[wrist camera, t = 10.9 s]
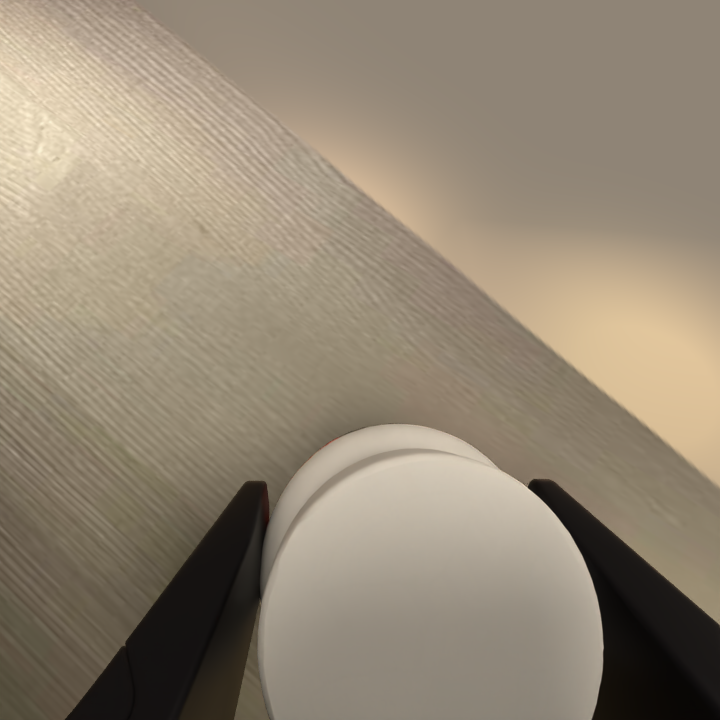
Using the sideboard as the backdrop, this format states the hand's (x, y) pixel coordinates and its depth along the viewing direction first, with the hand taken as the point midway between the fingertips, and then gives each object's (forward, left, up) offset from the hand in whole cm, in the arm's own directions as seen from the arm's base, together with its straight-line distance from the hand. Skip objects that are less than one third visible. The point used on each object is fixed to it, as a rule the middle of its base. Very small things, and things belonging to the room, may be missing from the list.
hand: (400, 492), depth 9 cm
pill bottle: (-1, -1, -7) cm, 7 cm away
